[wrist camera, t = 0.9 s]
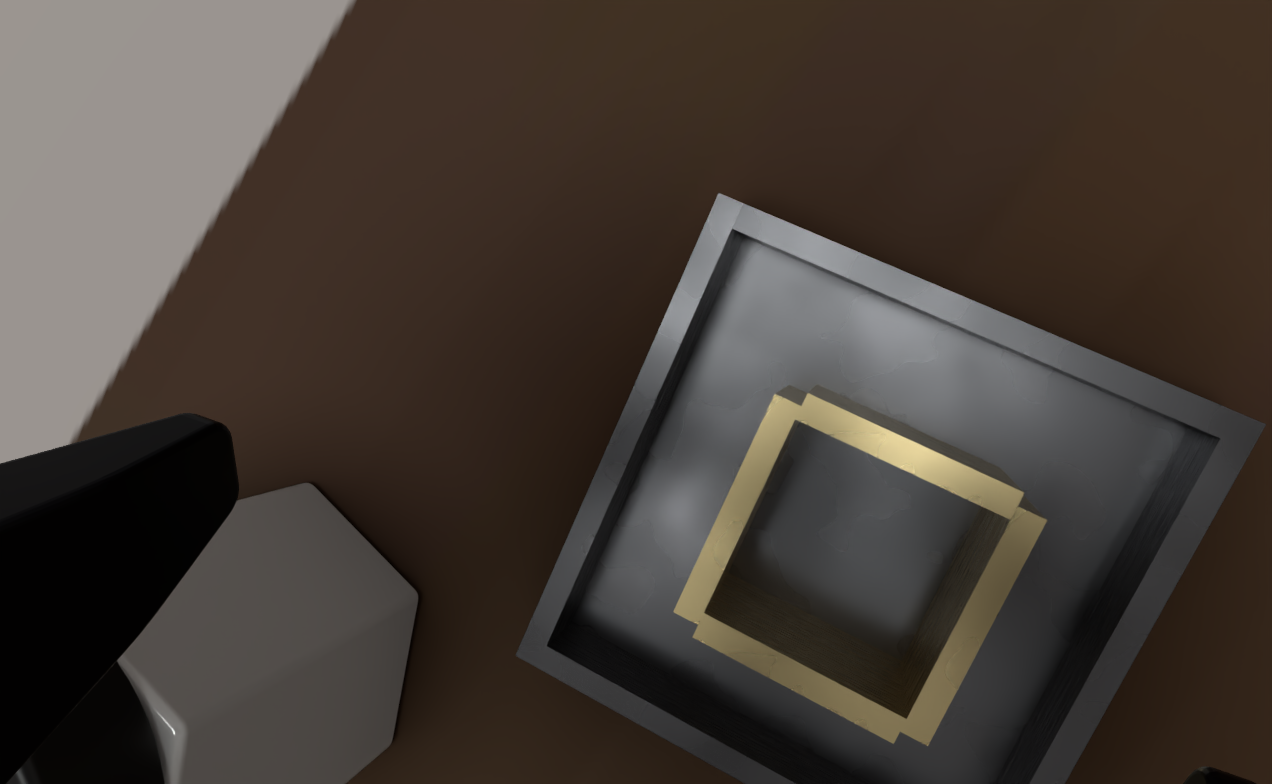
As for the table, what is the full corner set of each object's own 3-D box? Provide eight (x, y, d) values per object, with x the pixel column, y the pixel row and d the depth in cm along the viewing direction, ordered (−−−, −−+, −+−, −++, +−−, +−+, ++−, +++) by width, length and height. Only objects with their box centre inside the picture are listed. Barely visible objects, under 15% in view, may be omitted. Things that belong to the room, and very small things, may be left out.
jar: (378, 451, 26) (-19, 545, 14) (465, 731, 26) (135, 1054, 14) (126, 533, 28) (-392, 672, 17) (205, 791, 28) (-263, 1113, 17)
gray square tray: (976, 857, 23) (997, 964, 19) (549, 624, 25) (491, 677, 21) (1220, 413, 21) (1300, 432, 17) (734, 207, 23) (707, 182, 19)
